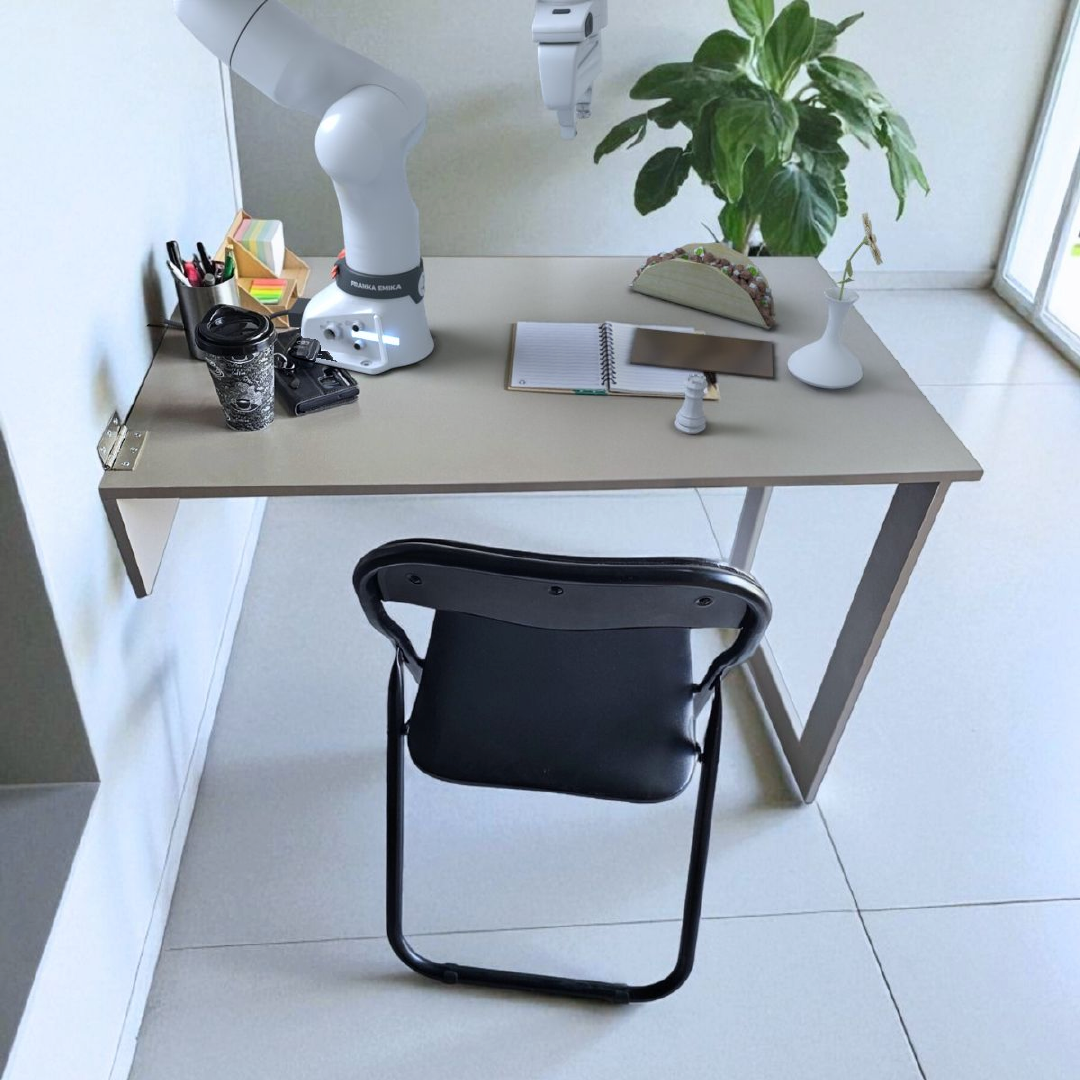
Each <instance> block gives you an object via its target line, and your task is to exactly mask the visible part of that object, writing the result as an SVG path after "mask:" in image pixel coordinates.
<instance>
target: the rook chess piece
mask: <svg viewBox="0 0 1080 1080" xmlns="http://www.w3.org/2000/svg"><path fill="white" fill-rule="evenodd" d="M683 383H684V386H685V387H686V389H684V400H683V404H682V407H681V408H680V409H679V411H678V412H677V413H676V415H675V420H674V422H673V423H674V426H675V428H676V429H677V430H678V431H679V432H681V433H683V434H686V435H687V434H688V435H696V434H699V433H701V432H703V431H704V430H705V429H706V427H707V426H706V422H707V418H706V415H705V412H704V409H703V400H704V399H703V398H704V396H705V391H704V390H705V389H706V388H707V387H708V385H709V383H708V381H707V376H705V375H704V374H703V373H700V374H699V375H698V372H693V373H692V372H691V373H689V374H688V375H687V377H686V379H684V381H683Z"/></svg>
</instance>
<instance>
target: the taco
mask: <svg viewBox="0 0 1080 1080" xmlns="http://www.w3.org/2000/svg"><path fill="white" fill-rule="evenodd" d="M628 285H629V288H632V290H633V292H636V293H640V294H643V295H647V296H651V297H654V298H657V299H660V300H665V301H668V302H672V303H674V304H678V305H681V306H686V307H689V308H693V309H696V310H700V311H703V312H707V313H710V314H714V315H717V316H720V317H724V318H726V319H727V318H728V319H730V320H731V319H732V320H735V321H738V322H742V323H745V324H748V325H749V324H750V325H753V326H756V327H759V328H762V329H765V330H766V329H767V330H769V329H770V328H772V327H773V325H774V324H775V323H776V320H775V319H776V303H775V300H774V296H773V294H772V288H770V284H769V282H768V279H767V278H766V276H765V275H764V274H763V272H762V271H761V270H760V268H758V266H757V265H756V264H755V263H754V261H752V260H751V259H750V257H748V256H747V255H745V254H743V253H742V252H739V251H737V250H736V249H733V248H731V247H729V246H727V245H726V244H723V243H721V242H690V243H687V244H685V245H682V246H680V247H676V248H674V250H672V251H670V252H666V251H664V250H663V251H661V252H659V253H657V254H656V255H652V256H650V257H647V258H646V262H642V264H641V266H640V267H639V268H638V269H636V275H635V277H634V278H633V279H632V281H631V282H630V283H628Z"/></svg>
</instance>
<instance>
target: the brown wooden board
mask: <svg viewBox="0 0 1080 1080" xmlns="http://www.w3.org/2000/svg"><path fill="white" fill-rule="evenodd" d="M635 331H636V332H635V336H634V343H633V347H632V352H631V357H630V363H629V364H631V365H640V366H648V367H658V368H665V369H668V368H669V369H677V370H684V371H685V370H686V371H693V372H694V371H695V372H705V373H712V374H714V373H715V374H722V375H723V374H724V375H731V376H732V375H733V376H741V377H749V378H750V377H751V378H759V379H768V380H773V379H774V361H773V357H774V356H773V342H772V341H767V340H759V339H758V340H757V339H748V338H738V337H729V336H720V335H718V336H717V335H709V334H701V333H692V332H691V333H690V332H681V331H672V330H663V329H662V330H661V329H651V328H642V327H637V328H636V330H635Z"/></svg>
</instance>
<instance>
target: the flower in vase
mask: <svg viewBox="0 0 1080 1080" xmlns="http://www.w3.org/2000/svg"><path fill="white" fill-rule="evenodd" d="M861 220H862V225H863V229H864V234H865V236H864V237H863V239H862V241H861V242H860V243H859V244H858V246H857V247H856V248H855V249H854V251H853V252H852V254H851V255H850V256H849V259H846V262H845V268H844V272H843V276H842V277H843V278H842V280H840V281H837V282H836V284H841V286H835V287H834V286H833V287H829V288H826V289H825V290H824V291H823V292H824V293H823V294H824V297H825V298H826V300H827V306H828V315H827V324H826V327H825V331H824V333H823V335H822V337H820V338H819V339H818V340H816V341H814V342H811V343H809V344H806V345H804V346H802V347H800V348H799V349H797V350H795V351H794V352H793V353H791V355H790V357H788V360H787V363H786V364H787V367H788V370H789V372H790V373H791V374H792V376H793V377H795V378H796V379H797V380H799V381H801V382H803V383H804V384H807V385H809V386H813V387H817V388H821V389H822V388H823V389H832V390H833V389H835V390H836V389H844V388H849V387H851V386H854V385H855V384H857V383H858V382H859V381H860V380H861V379H862V378H863V375H864V372H863V366H862V364H861V362H860V361H859V359H858V358H857V356H855V355H854V354H853V353H852V352H851V351H850V350H849V348H847V347H846V346H845V345H844V343H843V341H842V339H841V336H842V335H841V334H842V328H843V325H844V322H845V320H846V319H845V318H846V316H847V313H848V312H849V310H850V309H851V307H852V306H853V304H854V303H856V302H857V301H858V300H859V298H860V294H859V293H858V292H857V291H854V290H853V289H850V288H848V287H845V284H847V283H850V282H855V281H856V279H852V277H853V275H854V272H853V271H854V270H853V267H852V260H853V258H854V256H855V255H856V254H857V252H858V251H859V250H860V249H861V248H862V247H863V245H865V246H867V247H869V250H870V252H871V255H872V258H873V260H874V262H875V264H876V266H881V265H882V264H883V263H884V262H883V259H882V253H881V250H880V249H879V247H878V245H877V244H876V243H877V241H878V240H877V239H878V238H877V236H876V234H874V233H873V225H872V221H871V219H870V217H869V212H868V211H866V212H863V213H862V214H861ZM847 275H848V277H847V278H846V276H847Z"/></svg>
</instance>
